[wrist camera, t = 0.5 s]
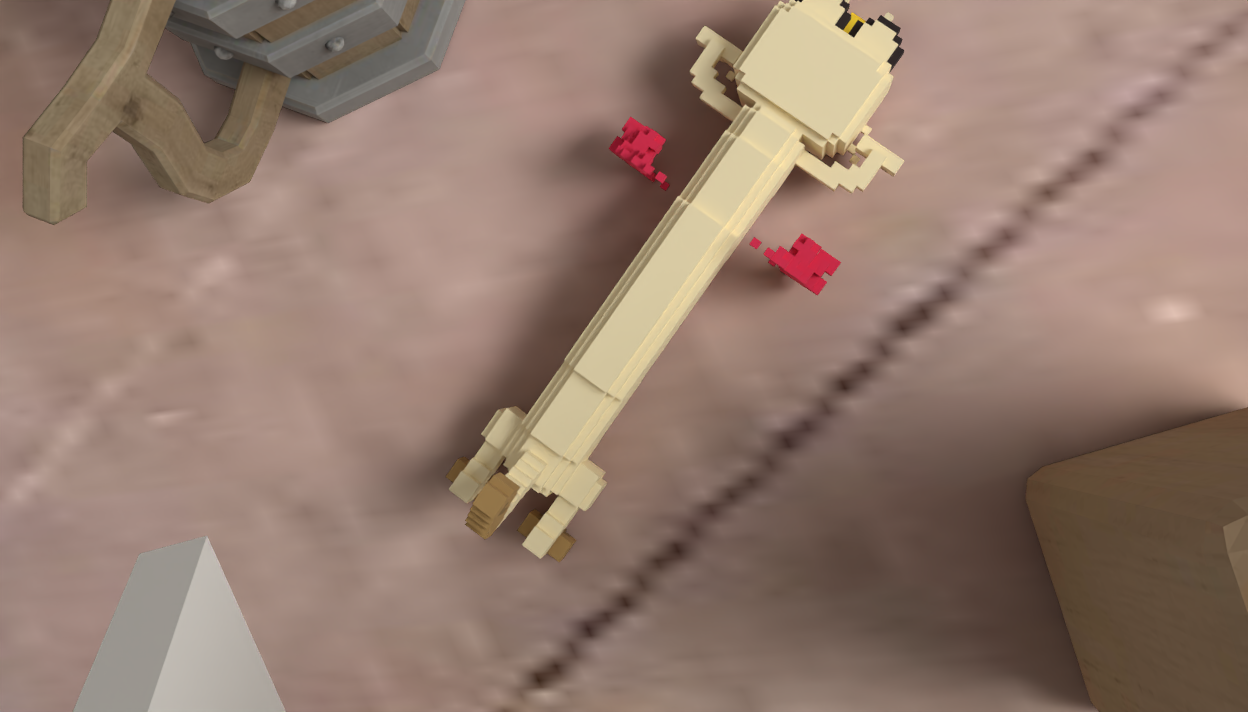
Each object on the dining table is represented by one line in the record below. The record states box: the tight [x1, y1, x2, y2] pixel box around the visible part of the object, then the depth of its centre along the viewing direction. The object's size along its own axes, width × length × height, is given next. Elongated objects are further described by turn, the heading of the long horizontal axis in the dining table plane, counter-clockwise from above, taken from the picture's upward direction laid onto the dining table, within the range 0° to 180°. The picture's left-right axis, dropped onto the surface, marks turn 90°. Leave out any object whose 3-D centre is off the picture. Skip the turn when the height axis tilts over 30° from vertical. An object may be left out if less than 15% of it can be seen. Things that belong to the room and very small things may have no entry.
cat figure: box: [446, 0, 904, 562], centre depth 45 cm, size 10×9×25 cm
